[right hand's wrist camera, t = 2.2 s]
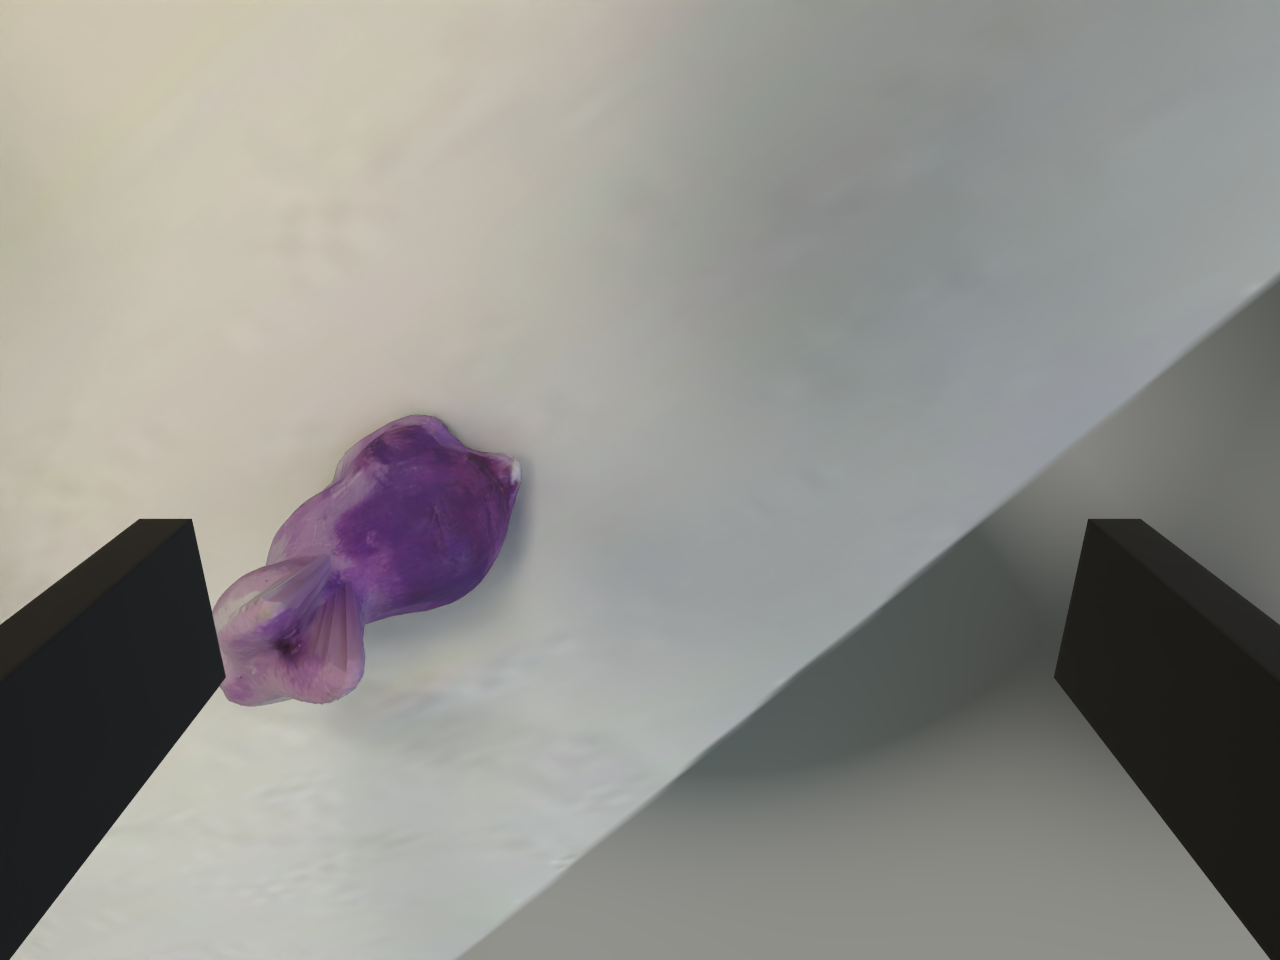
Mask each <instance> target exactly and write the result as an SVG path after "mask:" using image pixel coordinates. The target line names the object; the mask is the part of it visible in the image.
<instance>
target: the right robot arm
mask: <svg viewBox="0 0 1280 960" xmlns="http://www.w3.org/2000/svg"><path fill="white" fill-rule="evenodd" d="M225 678H226V675H225V670H224V665H223V661H222V656H221V651H220V647H219V642H218V638H217V633H216V628H215V624H214V619H213V615H212V610H211V605H210V601H209V596H208V591H207V587H206V582H205V578H204V573H203V568H202V564H201V559H200V555H199V550H198V545H197V541H196V536H195V531H194V527H193V522H192V519H139V520H137V521H136V522H135V523H134V524H132V525H131V526H130V527H128V528H127V529H126V530H124V531H123V532H122V533H120V534H119V535H118V536H116V537H115V538H114V539H112V540H111V541H110V542H109V543H107V544H106V545H105V546H103V547H102V548H101V549H99V550H98V551H97V552H95V553H94V554H93V555H91V556H90V557H89V558H88V559H86V560H85V561H84V562H82V563H81V564H80V565H78V566H77V567H76V568H74V569H73V570H72V571H70V572H69V573H68V574H67V575H65V576H64V577H63V578H61V579H60V580H59V581H57V582H56V583H55V584H53V585H52V586H51V587H49V588H48V589H47V590H46V591H44V592H43V593H42V594H40V595H39V596H38V597H36V598H35V599H34V600H32V601H31V602H30V603H28V604H27V605H26V606H25V607H23V608H22V609H21V610H19V611H18V612H17V613H15V614H14V615H13V616H11V617H10V618H9V619H7V620H6V621H5V622H4V623H2V624H1V625H0V960H10V958H11V957H12V956H13V954H14V953H15V952H16V950H17V949H18V948H19V947H20V945H21V944H22V943H23V941H24V940H25V939H26V937H27V936H28V935H29V934H30V932H31V931H32V930H33V928H34V927H35V926H36V924H37V923H38V922H39V920H40V919H41V918H42V917H43V915H44V914H45V913H46V911H47V910H48V909H49V907H50V906H51V905H52V904H53V902H54V901H55V900H56V898H57V897H58V896H59V894H60V893H61V892H62V890H63V889H64V888H65V887H66V885H67V884H68V883H69V881H70V880H71V879H72V877H73V876H74V875H75V874H76V872H77V871H78V870H79V868H80V867H81V866H82V864H83V863H84V862H85V861H86V859H87V858H88V857H89V855H90V854H91V853H92V851H93V850H94V849H95V847H96V846H97V845H98V844H99V842H100V841H101V840H102V838H103V837H104V836H105V834H106V833H107V832H108V831H109V829H110V828H111V827H112V825H113V824H114V823H115V821H116V820H117V819H118V817H119V816H120V815H121V814H122V812H123V811H124V810H125V808H126V807H127V806H128V804H129V803H130V802H131V801H132V799H133V798H134V797H135V795H136V794H137V793H138V791H139V790H140V789H141V788H142V786H143V785H144V784H145V782H146V781H147V780H148V778H149V777H150V776H151V774H152V773H153V772H154V771H155V769H156V768H157V767H158V765H159V764H160V763H161V761H162V760H163V759H164V758H165V756H166V755H167V754H168V752H169V751H170V750H171V748H172V747H173V746H174V744H175V743H176V742H177V741H178V739H179V738H180V737H181V735H182V734H183V733H184V731H185V730H186V729H187V728H188V726H189V725H190V724H191V722H192V721H193V720H194V718H195V717H196V716H197V715H198V713H199V712H200V711H201V709H202V708H203V707H204V705H205V704H206V703H207V701H208V700H209V699H210V698H211V696H212V695H213V694H214V692H215V691H216V690H217V688H218V687H219V686H220V685H221V683H222V682H223V681H224V679H225ZM1054 678H1055V679H1056V681H1057V682H1058V683H1059V684H1060V686H1061V687H1062V688H1063V690H1064V691H1065V692H1066V694H1067V695H1068V696H1069V698H1070V699H1071V700H1072V701H1073V703H1074V704H1075V705H1076V707H1077V708H1078V709H1079V711H1080V712H1081V713H1082V715H1083V716H1084V717H1085V718H1086V720H1087V721H1088V722H1089V724H1090V725H1091V726H1092V727H1093V729H1094V730H1095V731H1096V733H1097V734H1098V735H1099V737H1100V738H1101V739H1102V741H1103V742H1104V743H1105V745H1106V746H1107V747H1108V748H1109V750H1110V751H1111V752H1112V754H1113V755H1114V756H1115V758H1116V759H1117V760H1118V761H1119V763H1120V764H1121V765H1122V767H1123V768H1124V769H1125V771H1126V772H1127V773H1128V774H1129V776H1130V777H1131V778H1132V780H1133V781H1134V782H1135V784H1136V785H1137V786H1138V788H1139V789H1140V790H1141V791H1142V793H1143V794H1144V795H1145V797H1146V798H1147V799H1148V801H1149V802H1150V803H1151V804H1152V806H1153V807H1154V808H1155V810H1156V811H1157V812H1158V814H1159V815H1160V816H1161V817H1162V819H1163V820H1164V821H1165V823H1166V824H1167V825H1168V827H1169V828H1170V829H1171V831H1172V832H1173V833H1174V834H1175V836H1176V837H1177V838H1178V840H1179V841H1180V842H1181V844H1182V845H1183V846H1184V847H1185V849H1186V850H1187V851H1188V853H1189V854H1190V855H1191V857H1192V858H1193V859H1194V861H1195V862H1196V863H1197V864H1198V866H1199V867H1200V868H1201V870H1202V871H1203V872H1204V874H1205V875H1206V876H1207V877H1208V879H1209V880H1210V881H1211V883H1212V884H1213V885H1214V887H1215V888H1216V889H1217V890H1218V892H1219V893H1220V894H1221V896H1222V897H1223V898H1224V900H1225V901H1226V902H1227V904H1228V905H1229V906H1230V907H1231V909H1232V910H1233V911H1234V913H1235V914H1236V915H1237V917H1238V918H1239V919H1240V920H1241V922H1242V923H1243V924H1244V926H1245V927H1246V928H1247V930H1248V931H1249V932H1250V934H1251V935H1252V936H1253V937H1254V939H1255V940H1256V941H1257V943H1258V944H1259V945H1260V947H1261V948H1262V949H1263V950H1264V952H1265V953H1266V954H1267V956H1268V957H1269V958H1270V960H1280V625H1279V624H1278V623H1276V622H1275V621H1274V620H1273V619H1271V618H1270V617H1269V616H1267V615H1266V614H1265V613H1263V612H1262V611H1261V610H1259V609H1258V608H1257V607H1255V606H1254V605H1253V604H1252V603H1250V602H1249V601H1248V600H1246V599H1245V598H1244V597H1242V596H1241V595H1240V594H1238V593H1237V592H1236V591H1234V590H1233V589H1232V588H1230V587H1229V586H1228V585H1227V584H1225V583H1224V582H1223V581H1221V580H1220V579H1219V578H1217V577H1216V576H1215V575H1213V574H1212V573H1211V572H1209V571H1208V570H1207V569H1206V568H1204V567H1203V566H1202V565H1200V564H1199V563H1198V562H1196V561H1195V560H1194V559H1192V558H1191V557H1190V556H1188V555H1187V554H1186V553H1185V552H1183V551H1182V550H1181V549H1179V548H1178V547H1177V546H1175V545H1174V544H1173V543H1171V542H1170V541H1169V540H1167V539H1166V538H1165V537H1163V536H1162V535H1161V534H1160V533H1158V532H1157V531H1156V530H1154V529H1153V528H1152V527H1150V526H1149V525H1148V524H1146V523H1145V522H1144V521H1143V520H1141V519H1088V522H1087V527H1086V532H1085V536H1084V541H1083V545H1082V550H1081V555H1080V559H1079V564H1078V569H1077V573H1076V578H1075V582H1074V587H1073V592H1072V596H1071V601H1070V605H1069V610H1068V615H1067V619H1066V624H1065V628H1064V633H1063V638H1062V642H1061V647H1060V651H1059V656H1058V661H1057V665H1056V670H1055V675H1054Z"/></svg>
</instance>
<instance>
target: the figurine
mask: <svg viewBox="0 0 1280 960" xmlns="http://www.w3.org/2000/svg"><path fill="white" fill-rule="evenodd" d="M520 483H521V467H520V464H519V463H518V462H517V460H516V459H514V458H513V457H511V456H510V455H508V454H505V453H487V452H479V451H475V450H471V449H469V448H467V447H465V446H464V445H463V444H462V443H461V442H460V441H459V440H457V439H456V438H454V436H453V435H452V434H451V433H450V432H449V430H448V429H447V427H446V426H445V425H444V424H443V423H442V422H441V421H439V420H438V419H437V418H434V417H432V416H426V415H410V416H407V417H403V418H401V419H398V420H395V421H393V422H390V423H389V424H387V425H385V426H384V427H382V428H380V429H378V430H377V431H375V432H373V433H371V434H370V435H368V436H366V437H365V438H363V439H362V440H360V441H359V442H358V443H357V444H355V445H354V446H353V447H352V448H351V449H349V450H348V451H347V452H346V453H345V454H344V456H343V457H342V458H341V460H340V461H339V463H338V465H337V469H336V472H335V475H334V479H333V482H332V483H331V484H330V485H329V486H327V487H326V488H325V489H324V490H323V491H322V492H320V493H318V494H317V495H315V496H313V497H312V498H310V499H308V500H307V501H306V502H304V503H303V504H302V505H301V506H300V507H299V508H298V509H297V510H296V511H295V512H294V513H293V514H292V515H291V516H290V517H289V519H288V520H287V521H286V522H285V523H284V524H283V525H282V526H281V528H280V529H279V530H278V532H277V533H276V535H275V537H274V539H273V542H272V544H271V547H270V550H269V554H268V558H267V562H266V566H264V567H262V568H259V569H257V570H254V571H252V572H250V573H248V574H246V575H244V576H242V577H241V578H239V579H238V580H237V581H236V582H235V583H233V584H232V585H231V586H230V587H229V588H228V589H227V590H226V591H225V592H224V593H223V594H222V596H221V597H220V598H219V600H218V601H217V603H216V605H215V607H214V609H213V612H212V615H213V619H214V624H215V628H216V633H217V638H218V642H219V647H220V651H221V656H222V661H223V665H224V670H225V675H226V678H225V679H224V681H223V682H222V683H221V685H220V688H221V689H222V690H223V692H224V694H225V696H226V698H227V699H228V700H229V701H231V702H233V703H237V704H239V705H243V706H261V705H268V704H273V703H277V702H282V701H286V700H290V699H296V700H299V701H304V702H309V703H314V704H317V703H319V704H324V703H331V702H333V701H335V700H339V699H340V698H342V697H344V696H346V695H347V694H348V693H349V692H351V691H352V690H354V689H355V688H356V686H357V685H358V683H359V681H360V680H361V678H362V676H363V673H364V665H365V651H364V644H363V632H364V625H365V624H368V623H371V622H374V621H377V620H380V619H384V618H387V617H390V616H395V615H401V614H407V613H414V612H421V611H427V610H431V609H434V608H437V607H440V606H443V605H447V604H450V603H452V602H454V601H456V600H458V599H460V598H462V597H463V596H465V595H466V594H468V593H469V592H470V591H472V590H473V589H474V588H475V587H476V586H477V585H478V584H479V583H480V582H481V581H482V579H483V578H484V577H485V575H486V574H487V573H488V571H489V570H490V568H491V566H492V565H493V563H494V561H495V560H496V558H497V556H498V553H499V551H500V549H501V547H502V544H503V542H504V540H505V537H506V533H507V529H508V524H509V519H510V515H511V511H512V508H513V505H514V503H515V500H516V496H517V493H518V490H519V487H520Z"/></svg>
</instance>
